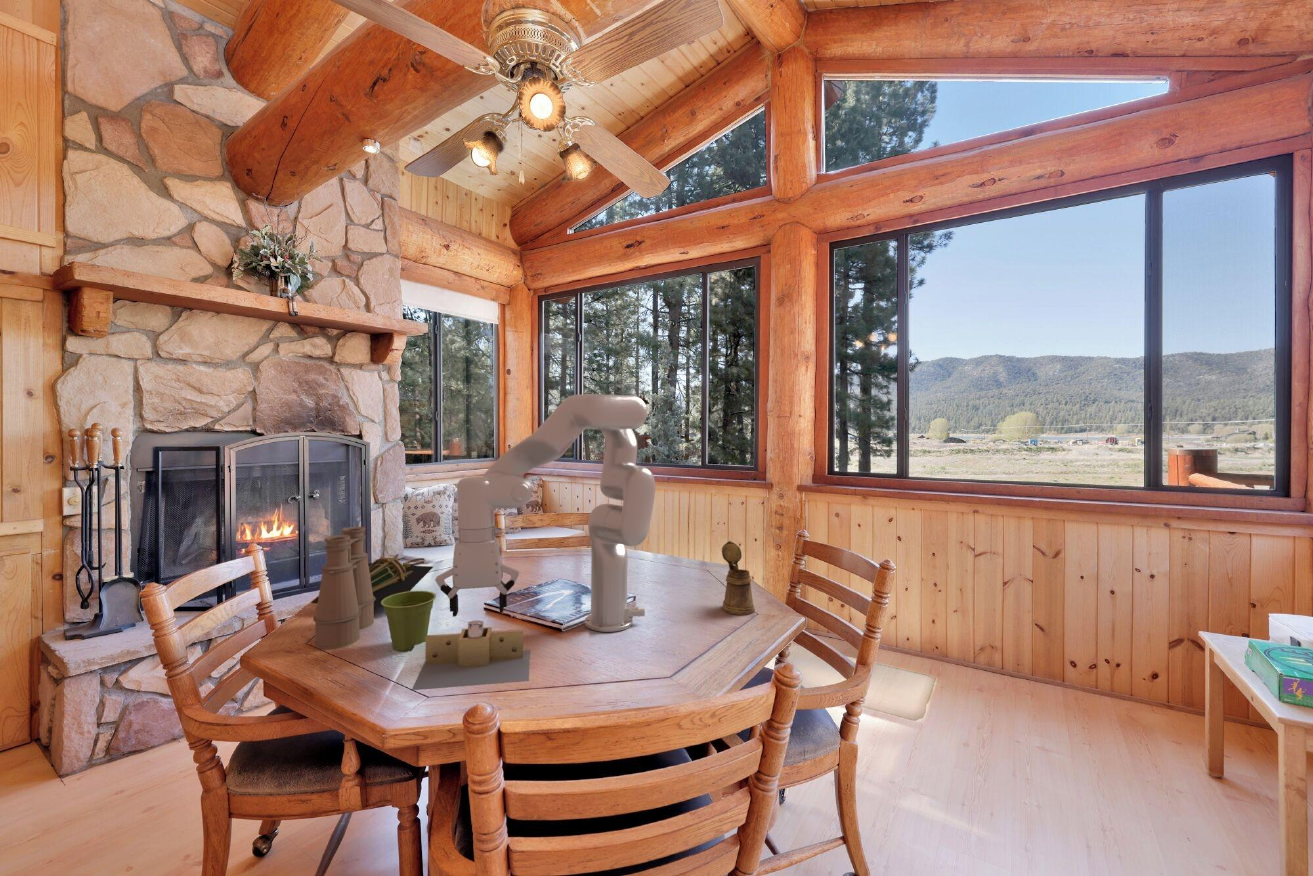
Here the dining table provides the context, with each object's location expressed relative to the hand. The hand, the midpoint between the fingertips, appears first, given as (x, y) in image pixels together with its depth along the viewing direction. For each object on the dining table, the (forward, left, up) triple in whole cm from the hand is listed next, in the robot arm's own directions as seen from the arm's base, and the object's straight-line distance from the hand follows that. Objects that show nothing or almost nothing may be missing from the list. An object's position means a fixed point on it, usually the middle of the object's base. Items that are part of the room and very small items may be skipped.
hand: (478, 612), depth 120 cm
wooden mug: (-69, -27, -12) cm, 75 cm away
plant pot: (+17, -14, -12) cm, 25 cm away
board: (0, +4, -12) cm, 12 cm away
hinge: (+1, 0, -10) cm, 10 cm away
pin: (+1, 0, -10) cm, 10 cm away
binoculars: (+34, -25, -12) cm, 44 cm away
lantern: (+33, -51, -12) cm, 62 cm away
